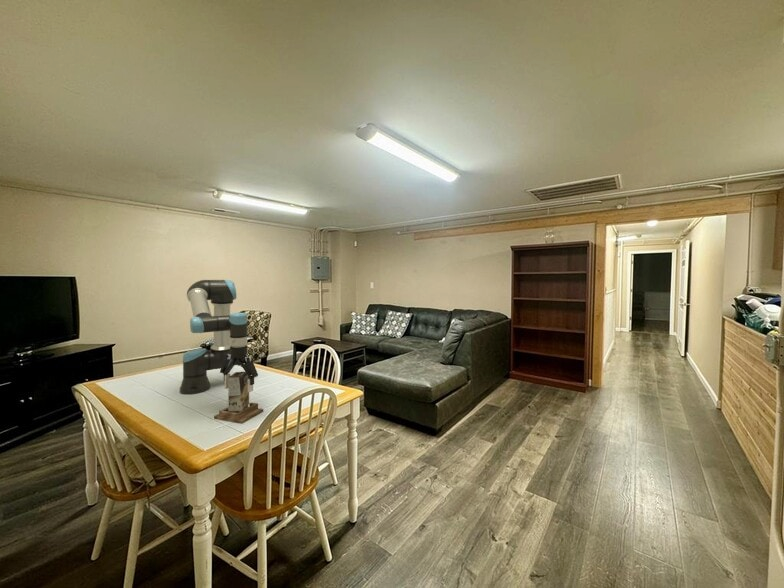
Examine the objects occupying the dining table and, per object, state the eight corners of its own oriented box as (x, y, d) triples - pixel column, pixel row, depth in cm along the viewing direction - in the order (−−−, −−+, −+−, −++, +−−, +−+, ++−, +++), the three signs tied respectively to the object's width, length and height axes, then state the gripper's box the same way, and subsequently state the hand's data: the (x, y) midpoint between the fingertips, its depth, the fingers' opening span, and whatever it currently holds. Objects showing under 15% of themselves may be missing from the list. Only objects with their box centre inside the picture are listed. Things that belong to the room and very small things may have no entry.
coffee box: (242, 411, 145) (241, 377, 144) (228, 411, 145) (227, 377, 144) (249, 403, 154) (249, 371, 154) (236, 403, 154) (235, 371, 153)
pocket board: (213, 418, 146) (213, 410, 145) (237, 407, 159) (237, 400, 159) (241, 423, 141) (241, 415, 141) (263, 411, 154) (263, 404, 154)
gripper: (211, 344, 149) (211, 388, 150) (254, 349, 141) (254, 395, 142) (224, 341, 156) (224, 383, 157) (265, 346, 148) (265, 390, 149)
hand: (238, 389), depth 150 cm, fingers open, 13 cm apart
